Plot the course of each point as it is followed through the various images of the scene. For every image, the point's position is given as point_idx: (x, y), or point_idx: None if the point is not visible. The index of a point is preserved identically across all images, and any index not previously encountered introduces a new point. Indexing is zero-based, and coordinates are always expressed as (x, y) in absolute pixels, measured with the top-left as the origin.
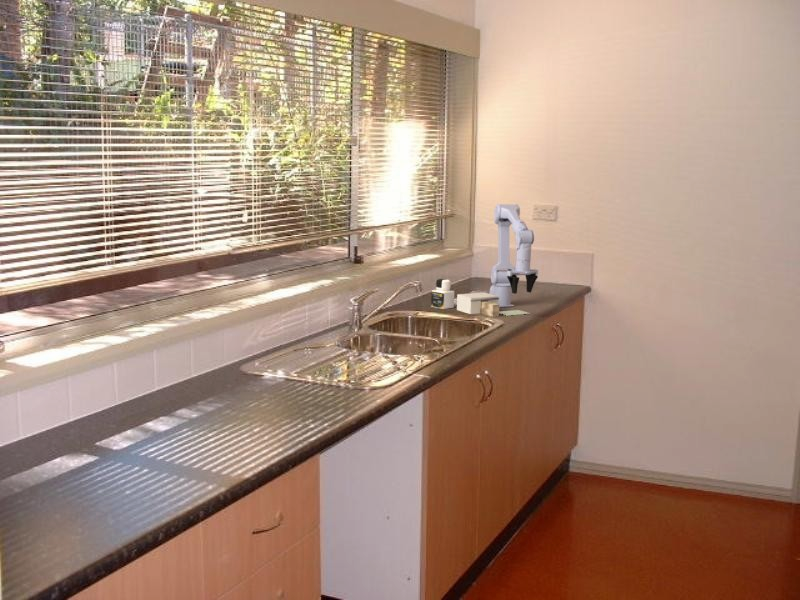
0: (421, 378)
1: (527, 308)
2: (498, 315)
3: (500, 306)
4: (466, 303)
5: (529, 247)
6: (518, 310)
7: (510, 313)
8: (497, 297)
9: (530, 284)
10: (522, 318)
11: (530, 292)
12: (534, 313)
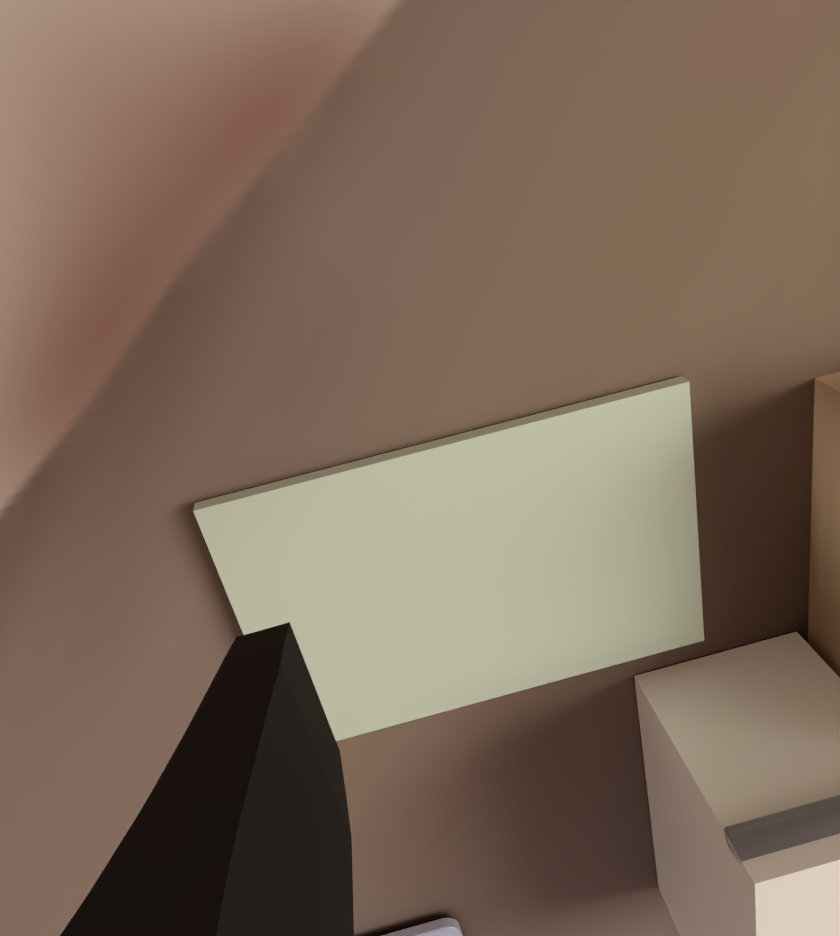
0: None
1: (76, 892)
2: (830, 382)
3: (450, 925)
4: None
5: None
6: None
7: (555, 509)
8: (768, 856)
9: (266, 928)
10: (523, 119)
11: (260, 630)
12: (86, 563)
